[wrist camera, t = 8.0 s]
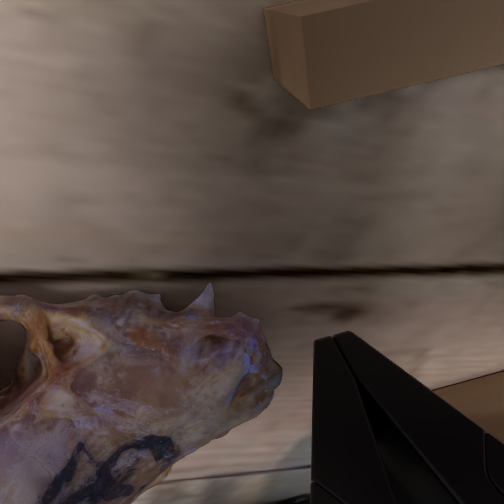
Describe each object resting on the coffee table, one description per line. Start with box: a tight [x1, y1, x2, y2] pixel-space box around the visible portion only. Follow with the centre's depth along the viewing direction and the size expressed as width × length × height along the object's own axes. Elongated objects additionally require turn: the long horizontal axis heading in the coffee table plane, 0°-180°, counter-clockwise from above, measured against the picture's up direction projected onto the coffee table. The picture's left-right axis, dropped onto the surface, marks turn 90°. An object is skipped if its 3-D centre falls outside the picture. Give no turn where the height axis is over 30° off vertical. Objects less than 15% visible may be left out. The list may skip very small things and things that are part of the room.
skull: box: [0, 283, 282, 504], centre depth 9 cm, size 12×8×6 cm, turn 99°
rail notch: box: [264, 0, 504, 443], centre depth 10 cm, size 13×9×2 cm
